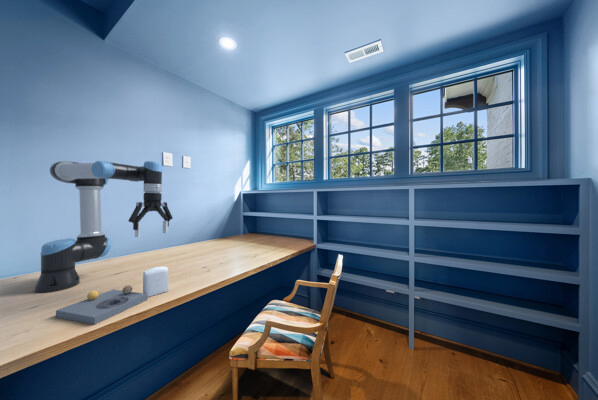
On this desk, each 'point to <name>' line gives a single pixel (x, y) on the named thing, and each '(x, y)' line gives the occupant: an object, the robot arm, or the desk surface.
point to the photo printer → (155, 281)
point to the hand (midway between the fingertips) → (152, 234)
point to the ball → (92, 295)
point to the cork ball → (127, 289)
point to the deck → (101, 306)
